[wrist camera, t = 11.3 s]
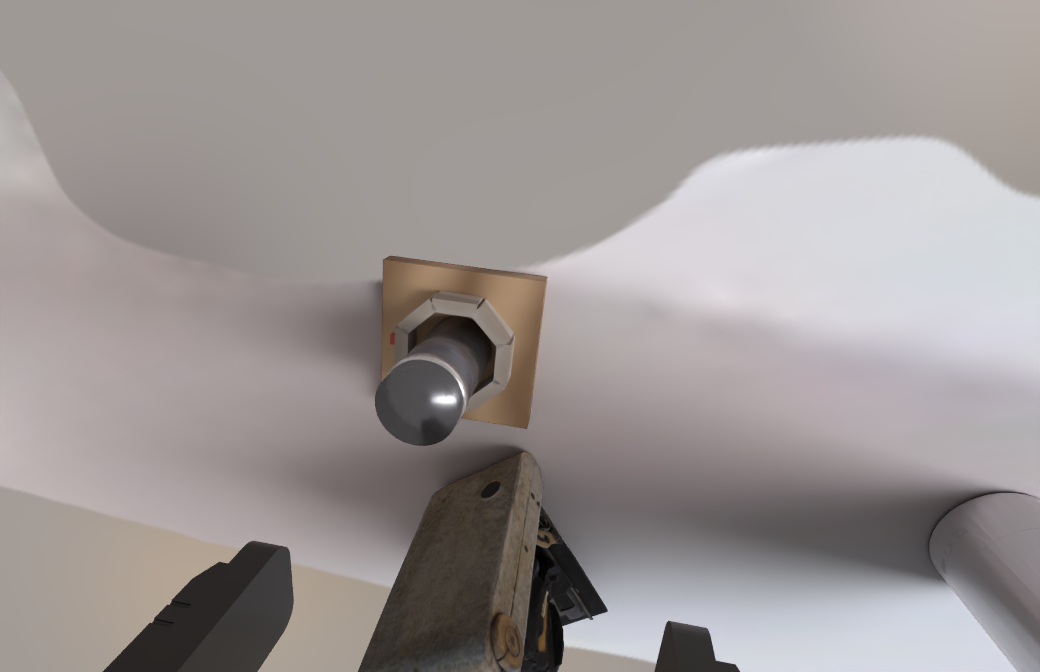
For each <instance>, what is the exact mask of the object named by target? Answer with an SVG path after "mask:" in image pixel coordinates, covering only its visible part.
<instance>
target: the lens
mask: <svg viewBox="0 0 1040 672" xmlns="http://www.w3.org/2000/svg"><path fill="white" fill-rule="evenodd" d="M491 357H492V343H491V339H490V338H489V337H488V336H487V335H486V333H485V332H484V331H483V330H482V329H481V327H480V326H479V325H478V324H477V323H476V321H474V320H472V319H470V318H467V317H463V316H452V317H448V318H445V319H443V320H441V321H440V322H438V323H437V324H436V325H435V326H434V327H433V328H432V329H431V330H430V331H429V332H428V334H427V335H426V336H425V337H424V338H423V339H422V340H421V341H420V342H419V343H418V344H417V345H416V346H415V347H414V348H413V349H412V350H411V351H410V352H409V353H408V354H407V356H406V357H404V358H403V359H401V360H400V361H399V362H398V363H397V364H396V365H395V366H394V367H393V368H392V369H391V370H390V371H389V373H388V374H387V376H386V377H385V379H384V380H383V381H382V382H381V383H380V385H379V387H378V389H377V392H376V396H375V407H376V412H377V415H378V417H379V419H380V421H381V423H382V424H383V426H384V427H385V428H386V429H387V430H388V431H389V432H390V433H391V434H392V435H393V436H394V437H396V438H398V439H399V440H401V441H403V442H406V443H408V444H412V445H418V446H426V445H432V444H436V443H438V442H440V441H442V440H444V439H445V438H446V437H447V436H448V435H449V434H450V433H451V432H452V430H453V429H454V427H455V425H456V424H457V423H458V422H459V421H460V419H461V417H462V416H463V414H464V412H465V410H466V407H467V404H468V401H469V399H470V397H471V396H472V394H473V392H474V390H475V388H476V386H477V384H478V383H479V381H480V379H481V377H482V375H483V373H484V372H485V370H486V368H487V366H488V364H489V362H490V360H491Z"/></svg>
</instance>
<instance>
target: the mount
mask: <svg viewBox="0 0 1040 672" xmlns="http://www.w3.org/2000/svg"><path fill="white" fill-rule="evenodd" d="M546 284H547V277H543V276H536V275H529V274H521V273H514V272H507V271H499V270H492V269H485V268H477V267H470V266H462V265H455V264H448V263H441V262H433V261H426V260H419V259H410V258H403V257H396V256H389V257H387V258H385V259H383V302H382V379H381V382H382V381H383V380H384V379H385V377H386V376H387V374H388V373H389V371H390V370H391V369H392V368H393V367H394V366H395V365H396V364H397V363H398V362H399V361H400V360H401V359H403V358H404V357H406V356H407V354H408V353H409V352H410V351H411V350H412V349H413V348H414V347H415V346H416V345H417V344H418V343H419V342H420V341H421V340H422V339H423V338H424V337H425V336H426V335H427V334H428V332H429V331H430V330H431V329H432V328H433V327H434V326H435V325H436V324H437V323H438V322H440V321H441V320H443V319H445V318H448V317H452V316H463V317H467V318H470V319H472V320H474V321H476V323H477V324H478V325H479V326H480V327H481V329H482V330H483V331H484V332H485V333H486V335H487V336H488V337H489V338H490V339H491V343H492V357H491V360H490V362H489V364H488V366H487V368H486V370H485V372H484V373H483V375H482V377H481V379H480V381H479V383H478V384H477V386H476V388H475V390H474V392H473V394H472V396H471V397H470V399H469V401H468V404H467V407H466V410H465V412H464V414H463V416H462V417H461V418H464V419H470V420H476V421H482V422H488V423H495V424H501V425H507V426H513V427H519V428H525V429H527V427H528V423H529V419H530V411H531V403H532V395H533V387H534V379H535V371H536V363H537V355H538V347H539V339H540V331H541V324H542V316H543V308H544V300H545V292H546Z"/></svg>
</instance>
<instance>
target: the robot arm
mask: <svg viewBox="0 0 1040 672" xmlns="http://www.w3.org/2000/svg"><path fill="white" fill-rule="evenodd" d="M929 553H930V557H931V561H932V563H933V564H934V566H935V568H936V569H937V571H938V572H939V573H940V575H941V576H942V577H943V578H944V580H945V581H946V582H947V583H948V585H949V586H950V587H951V588H952V590H953V591H954V592H955V593H956V595H957V596H958V597H959V598H960V600H961V601H962V602H963V603H964V605H965V606H966V607H967V609H968V610H969V611H970V613H971V614H972V615H973V616H974V618H975V619H976V620H977V621H978V623H979V624H980V625H981V626H982V628H983V629H984V630H985V631H986V633H987V634H988V635H989V636H990V638H991V639H992V640H993V641H994V643H995V644H996V645H997V646H998V648H999V649H1000V650H1001V651H1002V653H1003V654H1004V655H1005V656H1006V658H1007V659H1008V660H1009V661H1010V663H1011V664H1012V665H1013V666H1014V668H1015V669H1016V670H1017V671H1018V672H1040V499H1038V498H1035V497H1032V496H1030V495H1024V494H1018V493H997V494H990V495H984V496H981V497H978V498H975V499H971V500H969V501H967V502H965V503H963V504H961V505H959V506H957V507H956V508H955V509H953V510H952V511H950V512H949V513H948V514H947V515H946V516H945V517H944V518H943V519H942V520H941V521H940V522H939V523H938V525H937V526H936V528H935V529H934V531H933V533H932V536H931V539H930V542H929ZM293 600H294V599H293V587H292V574H291V561H290V552H289V549H288V548H287V547H283V546H278V545H273V544H268V543H262V542H257V541H251V542H249V543H247V544H246V545H245V546H244V547H243V548H242V549H241V550H240V551H239V552H238V554H237V555H236V556H235V557H234V558H233V559H232V560H231V561H230V562H229V563H228V564H227V563H222V562H218V563H217V564H215V565H214V566H212V567H210V568H209V569H208V570H206V571H204V572H202V573H201V574H199V575H198V576H196V577H194V578H193V579H192V580H191V581H190V582H189V583H188V584H187V585H186V586H185V587H184V588H183V589H182V590H181V591H180V592H179V593H178V594H177V595H176V596H175V598H173V599H172V602H171V604H170V605H167V606H166V607H165V608H164V609H163V610H162V611H161V612H160V613H159V614H158V615H157V616H156V617H155V618H154V621H153V623H149V624H148V625H147V626H146V628H145V629H144V630H143V631H142V632H141V633H140V634H139V635H138V636H137V637H136V638H135V639H134V640H133V641H132V642H131V643H130V644H129V645H128V646H127V647H126V648H125V649H124V650H123V651H122V652H121V654H119V656H117V658H116V659H115V660H114V661H113V662H112V663H111V664H110V665H109V666H108V667H107V668H106V669H105V670H104V671H103V672H257V671H258V670H259V668H260V667H261V665H262V664H263V662H264V661H265V659H266V658H267V656H268V655H269V653H270V652H271V650H272V649H273V647H274V646H275V644H276V643H277V641H278V640H279V638H280V637H281V635H282V634H283V632H284V631H285V628H286V626H287V625H288V622H289V619H290V617H291V614H292V609H293ZM655 672H740V671H739V669H738V668H737V666H736V665H735V664H730V663H725V662H720V661H716V660H715V655H714V651H713V646H712V641H711V637H710V633H709V631H708V629H707V628H704V627H698V626H693V625H688V624H683V623H677V622H672V621H668V622H667V624H666V627H665V630H664V635H663V639H662V643H661V647H660V651H659V655H658V659H657V664H656V668H655Z"/></svg>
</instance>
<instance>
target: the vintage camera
mask: <svg viewBox="0 0 1040 672" xmlns="http://www.w3.org/2000/svg"><path fill="white" fill-rule="evenodd" d="M542 492H543V483H542V479H541V474H540V469H539V467H538V465H537V463H536V461H535V460H534V458H533V457H532V455H531V454H530V453H526V452H522V453H520V454H518V455H516V456H513V457H511V458H508V459H506V460H503V461H501V462H499V463H497V464H494V465H492V466H490V467H489V468H487V469H485V470H483V471H480V472H477V473H475V474H473V475H471V476H469V477H466V478H464V479H461V480H459V481H457V482H455V483H453V484H451V485H449V486H446V487H444V488H442V489H440V490H438V491H437V492H435V493H434V494H433V496H432V498H431V500H430V502H429V504H428V506H427V508H426V510H425V513H424V515H423V518H422V520H421V523H420V525H419V527H418V529H417V532H416V534H415V536H414V539H413V541H412V543H411V546H410V548H409V550H408V553H407V555H406V557H405V559H404V562H403V564H402V566H401V569H400V571H399V573H398V576H397V578H396V580H395V583H394V585H393V587H392V590H391V592H390V595H389V597H388V599H387V602H386V604H385V607H384V609H383V611H382V614H381V617H380V619H379V621H378V624H377V626H376V629H375V631H374V633H373V636H372V639H371V641H370V643H369V646H368V648H367V650H366V653H365V655H364V658H363V660H362V663H361V665H360V668H359V670H358V672H557V671H558V669H559V666H560V665H561V664H562V658H563V650H564V641H563V628H562V626H564V625H567V624H570V623H573V622H576V621H579V620H583V619H586V618H589V619H590V620H593V618H592V616H595V615H598V614H601V613H605V612H608V610H607V608H606V606H605V604H604V603H603V601H602V600H601V598H600V596H599V595H598V593H597V592H596V590H595V588H594V587H593V585H592V584H591V582H590V580H589V579H588V577H587V576H586V574H585V572H584V571H583V569H582V568H581V566H580V565H579V563H578V561H577V560H576V558H575V557H574V555H573V554H572V552H571V551H570V549H569V548H568V547H567V545H566V544H565V542H564V541H563V540H562V538H561V536H560V535H559V533H558V531H557V530H556V528H555V527H554V525H553V523H552V522H551V520H550V518H549V517H548V515H547V514H546V512H545V511H544V510H543V508H542V507H541V500H542Z"/></svg>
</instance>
